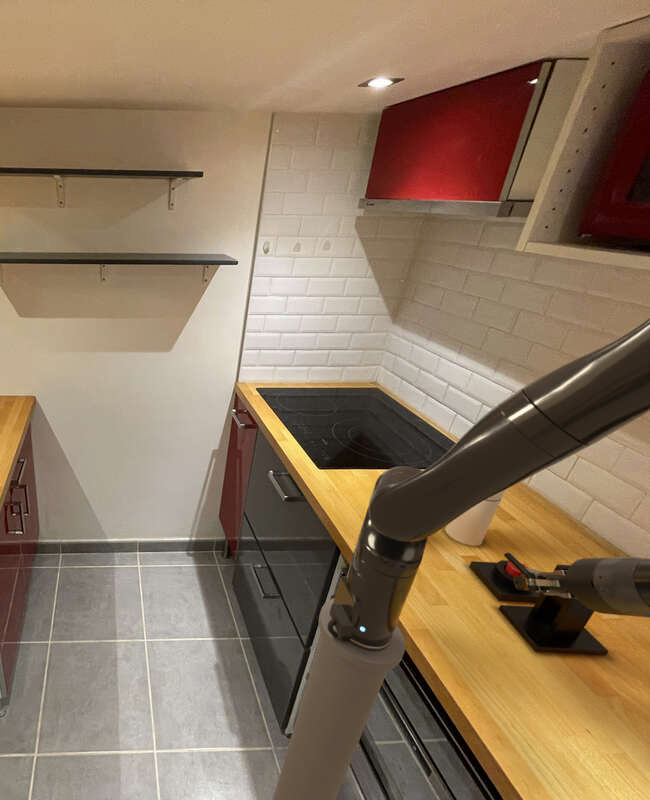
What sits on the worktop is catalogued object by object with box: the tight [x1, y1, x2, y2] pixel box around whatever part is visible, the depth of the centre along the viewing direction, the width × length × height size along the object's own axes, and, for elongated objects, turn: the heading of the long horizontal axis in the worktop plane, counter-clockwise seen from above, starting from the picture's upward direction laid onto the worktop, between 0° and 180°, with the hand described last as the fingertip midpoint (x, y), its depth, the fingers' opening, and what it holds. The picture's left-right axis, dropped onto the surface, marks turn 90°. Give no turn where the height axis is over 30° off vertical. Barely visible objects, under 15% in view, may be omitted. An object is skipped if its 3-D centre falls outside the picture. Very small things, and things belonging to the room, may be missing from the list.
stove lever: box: [503, 551, 544, 592], centre depth 77 cm, size 12×8×2 cm
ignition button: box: [505, 560, 529, 577], centre depth 91 cm, size 4×4×2 cm
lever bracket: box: [498, 564, 609, 657], centre depth 79 cm, size 12×9×14 cm
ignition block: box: [468, 559, 542, 604], centre depth 92 cm, size 11×9×4 cm
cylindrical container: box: [444, 490, 506, 547], centre depth 101 cm, size 7×7×25 cm
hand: (521, 583), depth 77 cm, fingers closed
